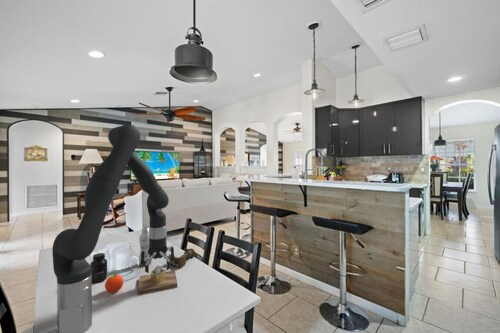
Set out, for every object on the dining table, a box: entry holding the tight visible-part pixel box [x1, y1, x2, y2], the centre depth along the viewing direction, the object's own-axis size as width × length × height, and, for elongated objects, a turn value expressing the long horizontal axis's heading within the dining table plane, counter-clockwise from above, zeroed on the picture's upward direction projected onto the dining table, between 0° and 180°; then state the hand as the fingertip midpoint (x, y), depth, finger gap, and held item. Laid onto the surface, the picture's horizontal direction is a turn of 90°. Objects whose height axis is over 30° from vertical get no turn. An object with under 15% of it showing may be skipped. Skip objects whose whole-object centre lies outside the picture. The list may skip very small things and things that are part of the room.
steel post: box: [153, 265, 162, 274], centre depth 107 cm, size 3×3×6 cm
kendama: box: [165, 248, 196, 269], centre depth 128 cm, size 6×10×20 cm
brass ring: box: [150, 267, 166, 283], centre depth 107 cm, size 6×6×4 cm
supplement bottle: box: [89, 252, 108, 284], centre depth 110 cm, size 7×7×12 cm
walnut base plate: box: [137, 269, 178, 296], centre depth 107 cm, size 14×16×2 cm
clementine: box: [104, 274, 124, 294], centre depth 100 cm, size 8×7×7 cm
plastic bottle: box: [138, 226, 153, 266], centre depth 126 cm, size 6×7×20 cm
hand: (157, 270), depth 106 cm, fingers open, 8 cm apart
